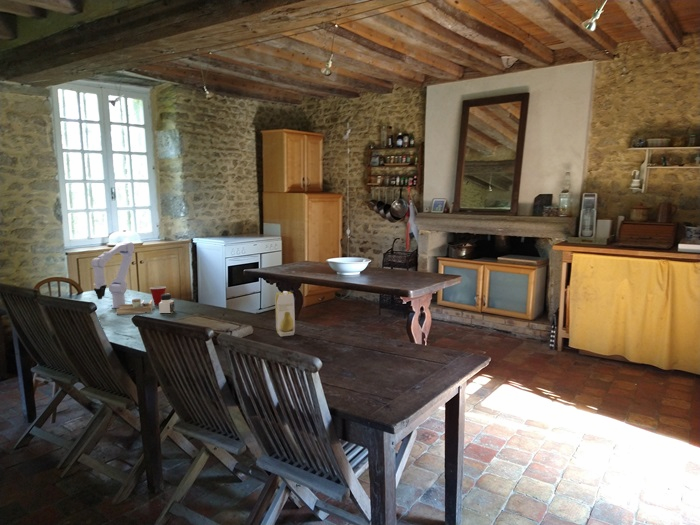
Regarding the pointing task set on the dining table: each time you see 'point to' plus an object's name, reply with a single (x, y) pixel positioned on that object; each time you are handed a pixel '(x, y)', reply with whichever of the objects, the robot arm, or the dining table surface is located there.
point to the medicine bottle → (166, 304)
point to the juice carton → (285, 313)
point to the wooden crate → (130, 310)
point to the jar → (136, 303)
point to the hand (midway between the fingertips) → (101, 297)
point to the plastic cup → (157, 293)
